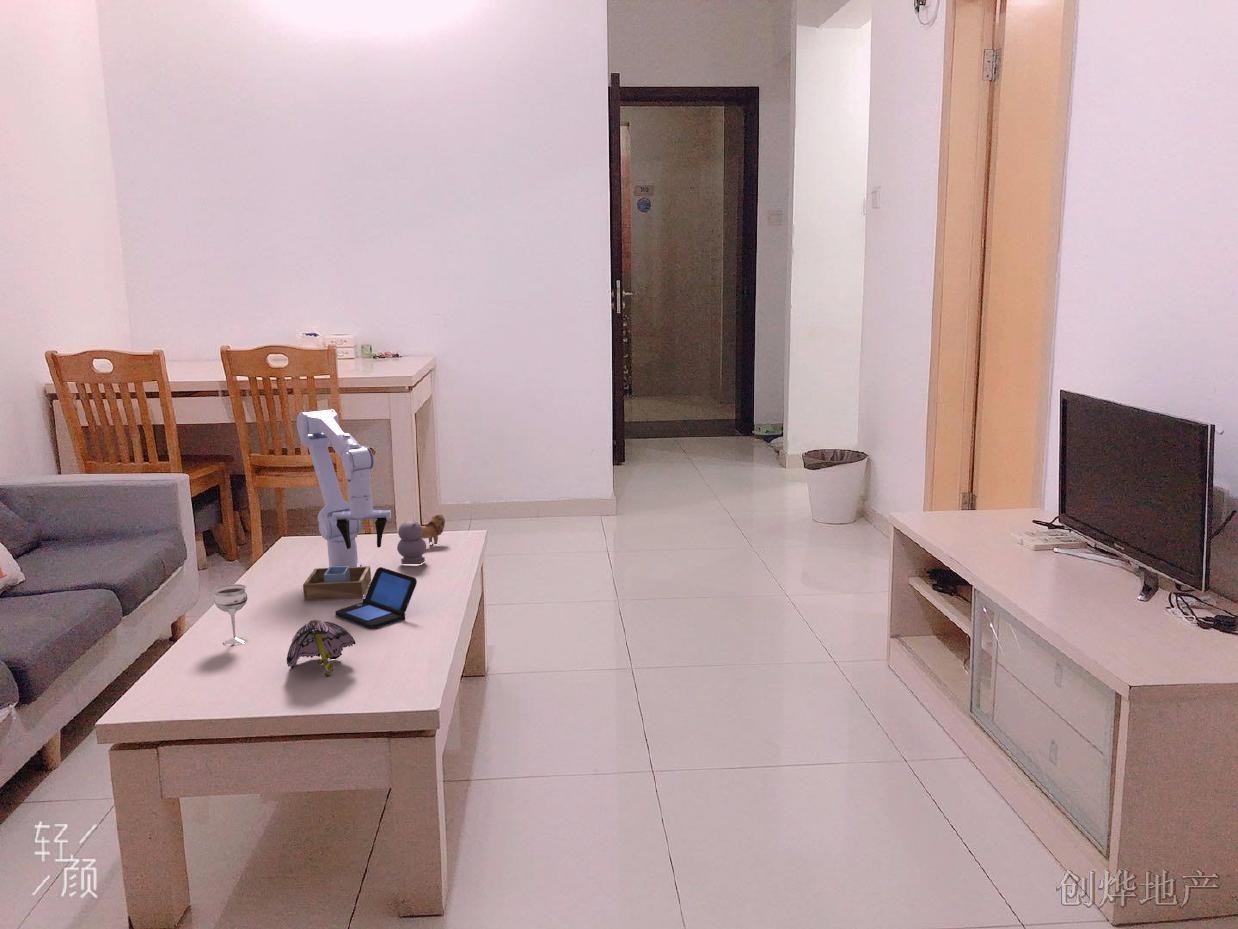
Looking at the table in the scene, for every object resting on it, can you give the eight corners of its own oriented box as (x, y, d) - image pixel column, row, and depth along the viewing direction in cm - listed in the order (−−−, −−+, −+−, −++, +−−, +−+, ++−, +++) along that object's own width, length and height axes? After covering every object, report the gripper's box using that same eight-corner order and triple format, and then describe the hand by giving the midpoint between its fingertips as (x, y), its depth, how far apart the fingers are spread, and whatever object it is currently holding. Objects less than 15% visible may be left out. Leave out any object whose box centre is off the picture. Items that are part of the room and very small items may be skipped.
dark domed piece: (352, 607, 213) (338, 609, 198) (370, 660, 212) (356, 667, 197) (284, 630, 212) (265, 635, 197) (302, 684, 211) (283, 692, 196)
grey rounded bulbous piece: (396, 560, 283) (394, 518, 280) (425, 557, 285) (422, 516, 283) (399, 569, 275) (397, 525, 272) (429, 566, 277) (426, 523, 275)
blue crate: (330, 583, 260) (329, 566, 259) (350, 583, 260) (349, 566, 259) (325, 592, 253) (323, 574, 252) (345, 591, 253) (344, 574, 253)
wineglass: (218, 639, 224) (213, 586, 222) (251, 634, 227) (246, 582, 224) (218, 649, 218) (213, 595, 216) (252, 644, 220) (247, 591, 218)
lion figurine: (440, 541, 303) (438, 511, 301) (450, 544, 299) (448, 514, 297) (397, 551, 293) (395, 520, 291) (406, 554, 289) (405, 523, 287)
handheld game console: (333, 617, 238) (330, 579, 236) (380, 602, 248) (378, 565, 246) (372, 631, 228) (369, 591, 226) (420, 615, 237) (418, 577, 236)
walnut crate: (316, 583, 263) (314, 568, 262) (371, 581, 264) (370, 566, 264) (304, 600, 249) (302, 584, 249) (362, 597, 251) (361, 582, 250)
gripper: (328, 499, 254) (332, 552, 257) (387, 497, 256) (390, 549, 258) (333, 493, 261) (337, 545, 264) (390, 491, 263) (394, 542, 265)
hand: (364, 547), depth 261 cm, fingers open, 7 cm apart
